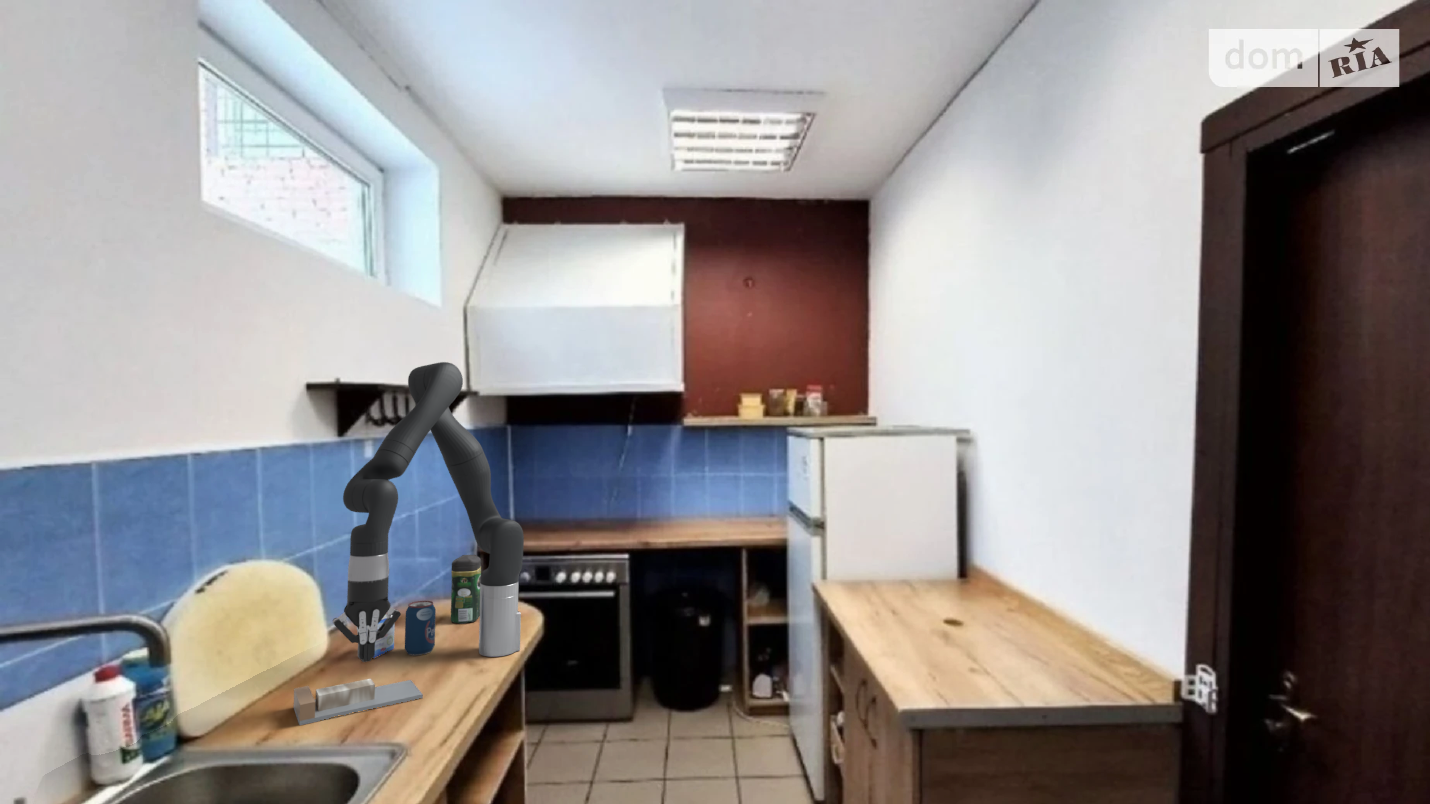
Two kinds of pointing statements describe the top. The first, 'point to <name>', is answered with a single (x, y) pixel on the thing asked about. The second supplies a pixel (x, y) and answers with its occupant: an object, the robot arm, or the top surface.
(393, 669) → the top surface
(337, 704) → the beige long rectangular block
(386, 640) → the medicine box
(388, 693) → the underlay board
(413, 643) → the soda can
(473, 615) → the coffee jar
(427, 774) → the top surface
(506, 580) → the robot arm
